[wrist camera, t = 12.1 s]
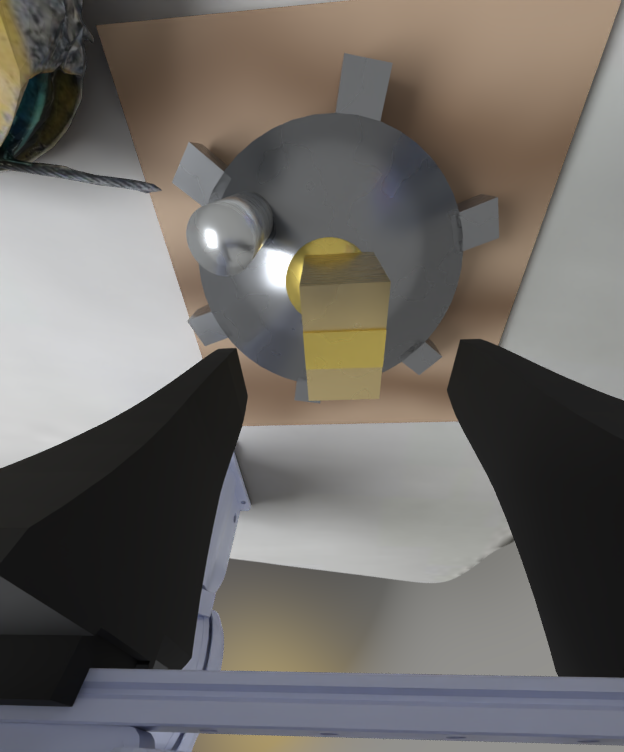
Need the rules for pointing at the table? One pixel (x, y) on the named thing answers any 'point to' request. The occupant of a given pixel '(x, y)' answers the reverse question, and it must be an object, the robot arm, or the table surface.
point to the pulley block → (43, 86)
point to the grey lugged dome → (327, 227)
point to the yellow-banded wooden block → (344, 324)
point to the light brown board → (401, 111)
